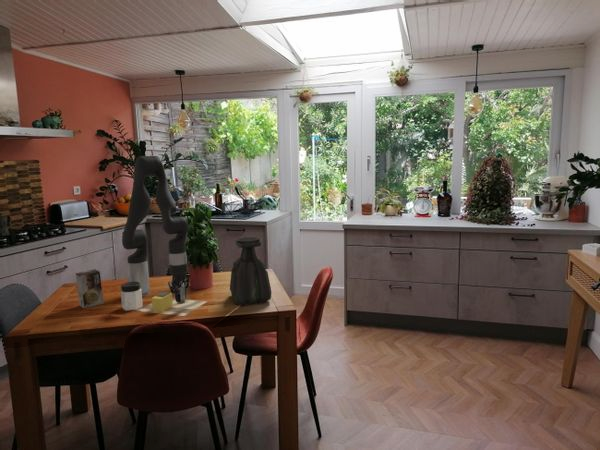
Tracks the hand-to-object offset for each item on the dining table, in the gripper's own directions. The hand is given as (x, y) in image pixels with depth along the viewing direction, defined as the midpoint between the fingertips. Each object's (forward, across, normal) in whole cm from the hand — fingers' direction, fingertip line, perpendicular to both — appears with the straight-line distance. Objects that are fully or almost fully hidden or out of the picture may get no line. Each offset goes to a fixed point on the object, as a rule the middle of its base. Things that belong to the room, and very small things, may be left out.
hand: (181, 299), depth 190 cm
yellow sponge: (+5, 0, +10) cm, 11 cm away
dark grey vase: (+6, +23, -23) cm, 33 cm away
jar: (+6, -2, +25) cm, 26 cm away
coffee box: (+6, -2, +49) cm, 50 cm away
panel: (+6, +4, +8) cm, 10 cm away
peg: (+1, 0, 0) cm, 1 cm away
